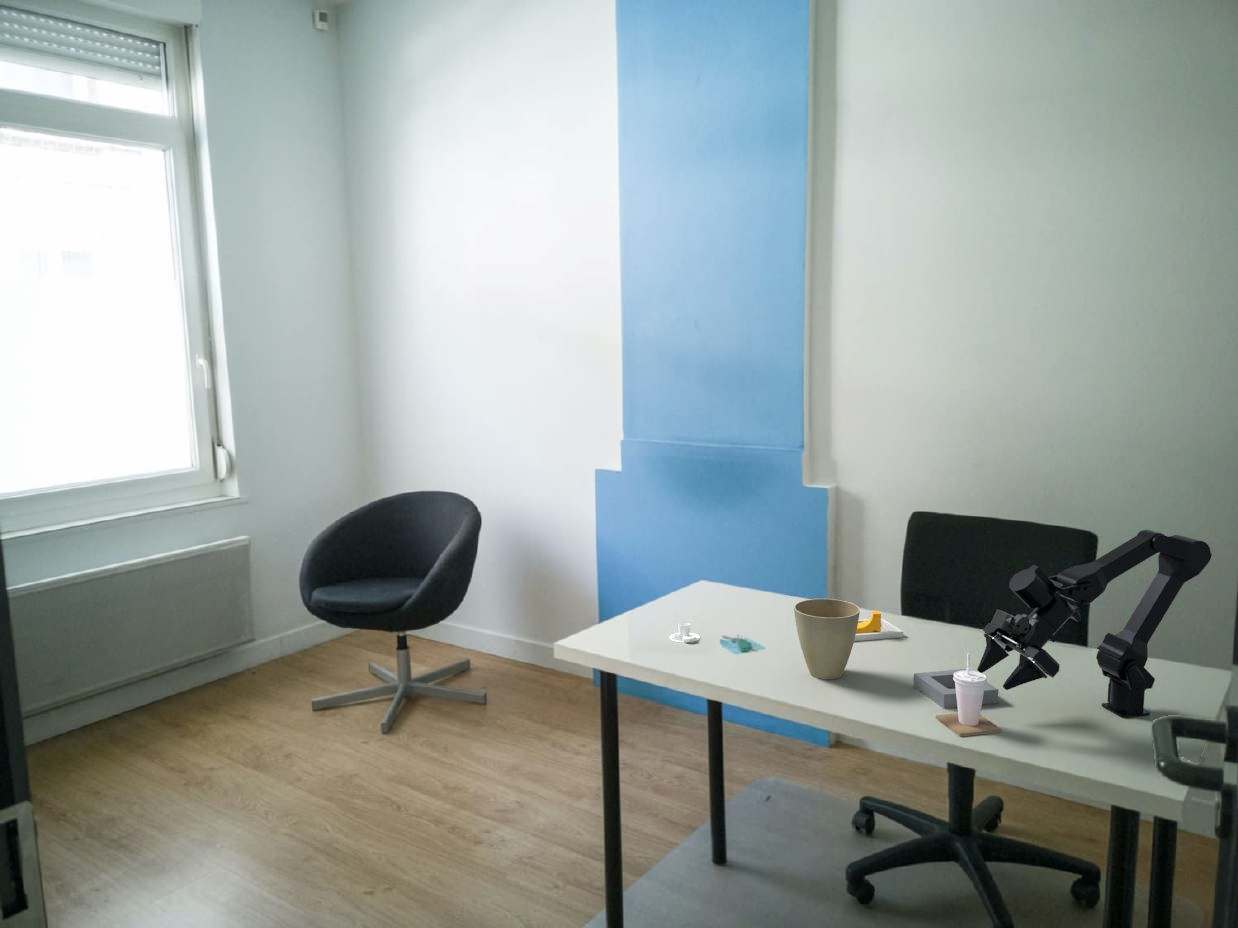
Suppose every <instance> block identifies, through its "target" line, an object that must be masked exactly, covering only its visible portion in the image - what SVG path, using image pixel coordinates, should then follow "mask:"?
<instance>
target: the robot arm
mask: <svg viewBox="0 0 1238 928" xmlns="http://www.w3.org/2000/svg"><path fill="white" fill-rule="evenodd" d="M1156 554H1159V555H1158V559H1157V560H1158V561H1157V563H1158V571H1157V573H1156V574H1155V576H1154V578H1153V579H1152V582H1151V583H1150V584H1149V585H1148V588H1147V590H1146V591H1145V592H1144V594H1143V596H1142V597H1141V599H1140V601H1139V603H1138V605H1137V606H1136V607H1135V609H1134V611H1133V613H1132V614H1131V616H1130V618H1129V619H1128V621H1127V623H1126V624H1125V626H1124V628H1123V629H1122V630H1120V632H1117V633H1116V634H1113V633H1111V632H1107V633H1106V634H1105V635H1104V639H1103V640H1102V642H1101V644H1100V645H1099V646H1098V647H1096V650H1098V651H1097V653H1096V661H1097V665H1098V666H1099V668H1100V669H1101V672H1102V675H1103V676H1104V677H1107V678H1109V683H1108V686H1107V702H1103V703H1101V707H1103V708H1104V709H1106V710H1107V711H1110V712H1111V713H1114V714H1116V715H1118V716H1119V717H1121V718H1131V717H1132V718H1133V717H1142V716H1150V715H1151V712H1150V711H1149V710H1147V709H1145V708H1144V707H1145V692H1146V690H1148V689H1150V690H1151V689H1152V688H1153V686H1154V683H1155V681H1156V678H1155V677H1154V676H1153V675H1152V674H1151V673H1150V672H1149V670H1147V669H1146V668H1145V666H1146V664H1147V662H1148V657H1149V656H1148V653H1149V652H1148V643H1149V641H1150V640H1151V638H1152V636H1153V634H1155V632H1156V630H1157V628H1158V627H1159V624H1161V621H1162V620H1163V619H1164V617H1165V615H1166V614H1167V612H1168V610H1169V608H1170V607H1171V605H1172V604H1173V602H1174V600H1175V599H1176V597H1177V595H1178V593H1179V592H1180V591H1181V589H1182V587H1183V586H1184V584H1185V583H1186V582H1189V581H1190V580H1192V579H1193V578H1195V577H1197V576H1199V575H1200V574H1201V573H1202V571H1203V570H1204V569H1205V568H1206V566H1208V564H1209V563H1210V562H1211V558H1212V556H1213V555H1212V552H1211V547H1210V546H1209V544H1208V543H1207V542H1205V541H1203V540H1199V539H1196V538H1192V537H1188V536H1186V535H1185V536H1184V535H1181V534H1174V535H1170V536H1168V535H1165V534H1164V533H1162V532H1159V531H1154V530H1151V529H1142V530H1140V531H1139V532H1138V533H1137V534H1136V535H1135V536H1133V537H1132V538H1131V539H1129V540H1127V541H1125V542H1123V543H1122V544H1120V545H1119V546H1117V547H1114V549H1112V550H1111V551H1109V552H1106V553H1105V554H1104V555H1102V556H1100V557H1098V558H1097V559H1096V560H1094V561H1091V562H1089V563H1088V562H1087V563H1083V564H1078V565H1074V566H1071V567H1068V568H1066V569H1064V570H1061V572H1059V573H1058V574H1056V575H1052V576H1047V575H1046V574H1045V572H1044V571H1043V569H1041V568H1040V567H1039V566H1037V565H1034V564H1032V565H1031V566H1030V567H1029V568H1026V569H1023V570H1021V571H1019V572H1017V573H1014V575H1012V577H1011V578H1010V580H1009V583H1008V584H1009V585H1008V586H1009V589H1010V590H1011V591H1012V592H1013V593H1014V594H1015V595H1016V596H1017V597H1018V598H1019V599H1020V600H1021V601H1022V602H1023V603H1024V604H1025V605H1026V606H1027V607H1028V608H1030V609H1033V611H1032V612H1031V613H1029V615H1028V614H1027V613H1023V614H1020V613H1018V614H1016V615H1015V616H1014V615H1012V614H1010V613H1008V612H1006V611H1003V610H1001V609H996V610H995V611H996V612H995V613H994V615H993V617H992V620H991V622H989V623H987V624H986V625H985V626H984V628H982V631H983V637H984V638H985V643H986V645H985V649H984V651H983V654H982V656H981V659H980V662H979V664H978V667H977V668H976V671H977V672H980V673H982V674H984V673H985V672H987V671H988V670H990V669H991V668H993V667H994V666H996V665H997V664H998V663H1000V662H1001V661H1003V660H1004V659H1006V658H1007V657H1009V656H1010V654H1009V652H1010V653H1011V652H1013V651H1016V652H1018V654H1019V659H1018V665H1017V666H1016V667H1015V668H1014V669H1013V671H1012V672H1011V674H1009V676H1008V677H1007V678H1006V680H1005V681H1004V683H1003V685H1002V687H1003V689H1004V690H1006V691H1008V690H1010V689H1013V688H1016V687H1018V686H1023V685H1024V684H1027V683H1030V682H1033V681H1037V680H1040V679H1045V680H1046V679H1047V678H1048V676H1049V677H1050V678H1052V679H1053V678H1055V676H1056V675H1057V674H1058V673H1059V672H1060V666H1061V665H1060V663H1058V661H1057V660H1056V659H1055V658H1054V657H1053V656H1052V655H1050V653H1049V652H1048V651H1047V650H1045V649H1044V646H1046V644H1047V643H1048V642H1052V643H1054V642H1056V641H1057V637H1056V636H1055V634H1056V633H1057V632H1058V631H1059V630H1060V629H1062V627H1063V625H1064V624H1065V623H1066V622H1067V621H1068V620H1069V619H1072V620H1074V621H1076V622H1078V623H1079V622H1081V621H1082V619H1081V614H1080V613H1081V609H1080V607H1079V606H1077V605H1074V604H1070V603H1069V602H1068V601H1067V600H1071V601H1072V602H1074V603H1077V604H1081V605H1090V604H1091V603H1093V602H1094V601H1095V600H1096V599H1097V598H1099V597H1100V596H1101V595H1102V594H1104V592H1105V591H1106V589H1107V587H1108V584H1109V583H1111V582H1112V581H1114V580H1115V579H1116V578H1118V577H1120V576H1121V575H1123V574H1124V573H1126V572H1128V571H1130V570H1131V569H1133V568H1134V567H1135V568H1136V566H1138V565H1140V564H1141V563H1143V562H1145V561H1146V560H1148V559H1150V558H1151V557H1153V556H1154V555H1156ZM1056 594H1058V595H1060V596H1059V597H1058V596H1057V595H1056Z"/></svg>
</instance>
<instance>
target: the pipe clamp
mask: <svg viewBox="0 0 1238 928" xmlns="http://www.w3.org/2000/svg"><path fill="white" fill-rule="evenodd" d="M881 618H882V612H881V611H880V610H872V611H871V616H870V618H868V619H869V620H868V621H864V622H861V623H858V626H857V631H856V634H863V633H875V632H882V631H881V629H882V626H881Z"/></svg>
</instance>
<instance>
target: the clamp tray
mask: <svg viewBox="0 0 1238 928" xmlns="http://www.w3.org/2000/svg"><path fill="white" fill-rule="evenodd" d="M869 619H870V618H864V619H859V620H858V623H861V622H864V621H868V620H869ZM881 627H883V628H884V629H886V630H887V631H881V632H875V633H863V634H856V635H855V639H854V642H860V641H861V642H862V641H870V640H871V641H874V640H884V639H885V640H887V639H895V638H896V639H897V638H904V631H903V630H902V629H900V628H899V627H896V626H895V625H894V624H892V623H891V622H889V621H887V620H885V619H884V618H883V617H881Z"/></svg>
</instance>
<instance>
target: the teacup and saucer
mask: <svg viewBox="0 0 1238 928" xmlns="http://www.w3.org/2000/svg"><path fill="white" fill-rule="evenodd" d="M677 625H678V626H677V627H678V632H676V633H672V634H670V635H669V639H670V638H671V639H670V640H671V641H673V642H677V643H694V642H697V641H699V640H700V638H701V637H700V635H698V634H697V633H693V632H691V623H689V622H679V623H678V624H677ZM675 634H677V635H676V636H679V638H680V639H681V640H677V639H675V638H674V637H676V636H675ZM672 638H674V639H672Z"/></svg>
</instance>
